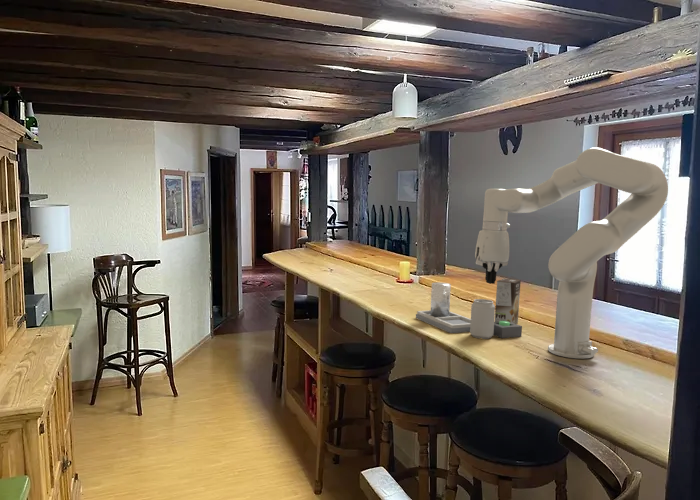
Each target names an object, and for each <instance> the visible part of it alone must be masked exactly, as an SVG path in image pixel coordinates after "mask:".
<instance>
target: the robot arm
mask: <svg viewBox="0 0 700 500" xmlns="http://www.w3.org/2000/svg"><path fill="white" fill-rule="evenodd" d="M597 184H601V185H603V186H607V187H609V188H613V189H616V190H618V191H622V192H625V193H629V194H630V195H629V196H628V198H626V199H625V200H623V201H622V202H621V203H620V204H618V205H617V206H616V207H615V208H613V210H612V211H611V212H610V213H608V214H607V215H606V216H605V217H604V218H603V219H601V220H596V221H595V220H594V221H590V222H587V223H585V224H584V225H582V226H581V227H580V228H579V229H577V230H576V231H575V232H574V233H573V234H572V235H571V236H569V238H567V239H566V240H565V241H564V242H563V243H562V244H561V245H560V246H559V247H557V248H556V250H554V252H553V253H552V254H551V255H550V257H549V259H548V263H547V264H548V265H547V266H548V271H549V273H550V275H551V277H553V278H554V279H556V280H557V281H559V282H558V287H557V296H556V297H557V298H556V309H555V310H556V311H555V324H554V325H555V326H554V339H553V340H554V341H553V343H552V344H549V345H548V347H547V350H548V352H550V353H551V354H553V355H556V356H559V357H564V358H567V359H568V358H569V359H579V360H581V359H583V360H584V359H591V358H593V357H594V356H596V354H597V353H598V352H599V348H597V347H595V346H593V345H592V344H593V341H592V340H590V334H591V333H590V332H591V322H592V321H591V320H592V308H593V295H594V287H595V281H596V276H597V271H598V261H599V260H600V259H601V258H603V257H605V256H607V255H611V254H614V253H615V252H617V251H618V250H619V249H620V248H621V247H623V245H624V244H625V243H626V242H628V241H629V240H631V238H633V236H635V235H636V234H637V233H638V232H639V231H640V230H641V229H642V228H644V227H645V226H646V225H647V224H648V223H650V222H651V221H652V220H653V218H655V216H657V215H658V214H659V212H661V210H662V208H663V207H664V205H665V203H666V200H667V198H668V194H669V185H668V179H667V177H666V175H665V173H664V171H663V170H662V169H661V168H660V167H659V166H657V165H656V164H653V163H651V162H646V161H642V160H640V159H635V158H632V157H629V156H624V155H621V154H619V153H615V152H612V151H610V150H608V149H604V148H601V147H590V148H587V149H585V150H583V151H582V152H580V154H579V155H578V156H577V158H576V160H574V161H572V162H569V163H567V164H564V165H563V166H560V167H558V168H556V169H554V171H553V172H552V175H551V177H550V178H548V179H547V180H545V181H543V182H542V183H539V184H537V185H535V186H532V187H530V188H508V189H505V188H488V189H486V190H485V192H484V203H483V217H482V218H483V219H482V230H479V232H478V235H477V239H476V244H475V250H474V251H475V254H474V257H475V259H476V261H475V265H478V266H481V267H483V269H484V270H485V282H486V283H487V284H491V285H493V284H494V285H495V283H496V282H497V274H498V273H497V272H499V269H501V268H502V267H506V266H508V265H509V258H510V238H509V235H510V234H509V232H508V229H510V228H511V223H508V214H509V213H513V214H522V213H523V214H525V213H526V214H530V213H533V212H536V211H539V210H540V209H541V210H542V209H543V208H546V207H549V206H550V205H553V204H555V203H557V202H558V201H561V200H563V199H565V198H566V197H568V196H570V195H572V194H575V193H577V192H579V191H581V190H585V189H587V188H589V187H592V186H594V185H597Z"/></svg>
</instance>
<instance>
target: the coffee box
mask: <svg viewBox="0 0 700 500" xmlns="http://www.w3.org/2000/svg"><path fill="white" fill-rule="evenodd" d="M521 282H522V281H521V279H513V278H501V279H499V280H496V292H495V293H496V295H495V316H494V322H495V321H508V322H511V323H514V324H517V325H518V323H519V310H520V297H521Z"/></svg>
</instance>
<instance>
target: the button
mask: <svg viewBox="0 0 700 500" xmlns="http://www.w3.org/2000/svg"><path fill="white" fill-rule="evenodd" d="M499 325H502V326H510V322H507V321H499Z"/></svg>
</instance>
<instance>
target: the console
mask: <svg viewBox="0 0 700 500" xmlns="http://www.w3.org/2000/svg"><path fill="white" fill-rule="evenodd" d="M507 322H508V321H507ZM522 330H523V326H522V325H519V324H518V323H517V324H514V323H511V322H510V326H502V325H499V321H495V320H494V333H493V336H495V337H497V336H498V337H497V338H500V339H507V338H509V337H511V338H519V337H520V336H521V337H522V333H523V332H522Z"/></svg>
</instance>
